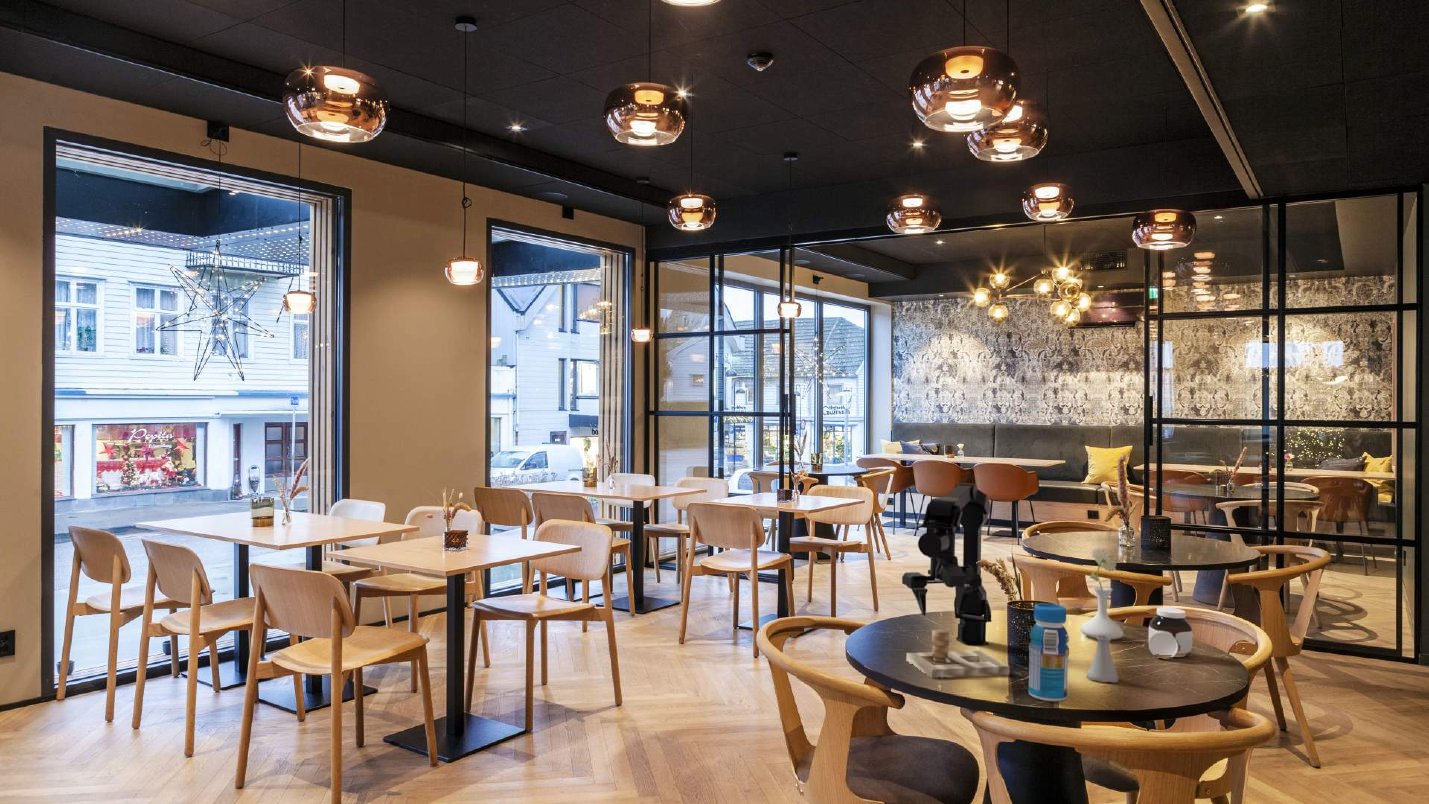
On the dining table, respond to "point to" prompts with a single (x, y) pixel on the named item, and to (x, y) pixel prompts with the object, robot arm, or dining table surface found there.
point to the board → (958, 664)
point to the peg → (940, 645)
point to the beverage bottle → (1048, 653)
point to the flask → (1103, 663)
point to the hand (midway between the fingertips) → (941, 614)
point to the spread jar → (1170, 632)
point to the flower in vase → (1102, 602)
